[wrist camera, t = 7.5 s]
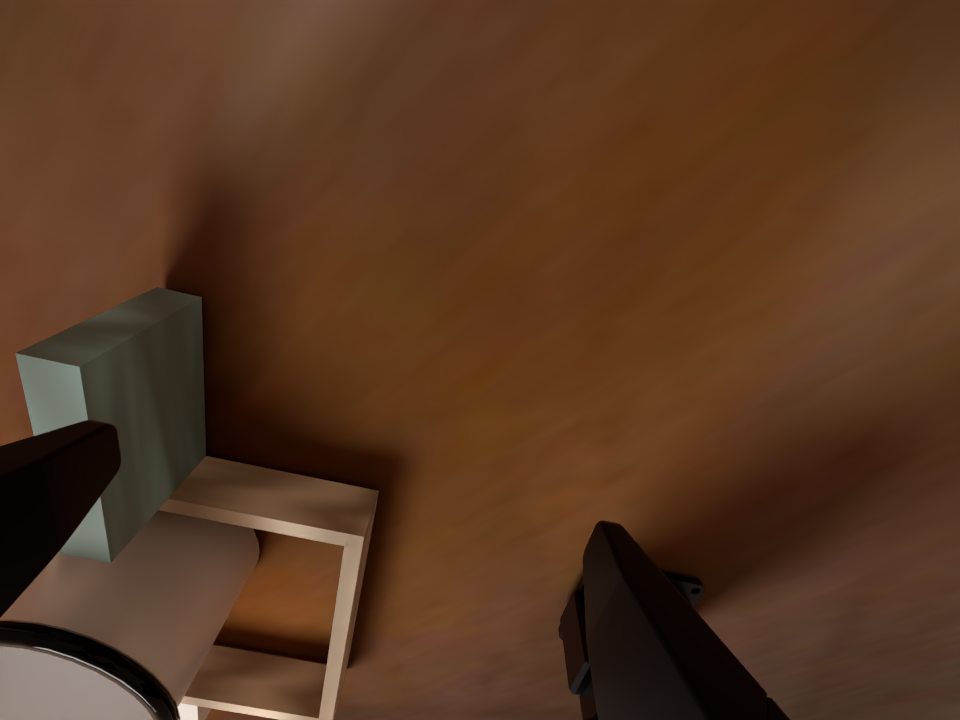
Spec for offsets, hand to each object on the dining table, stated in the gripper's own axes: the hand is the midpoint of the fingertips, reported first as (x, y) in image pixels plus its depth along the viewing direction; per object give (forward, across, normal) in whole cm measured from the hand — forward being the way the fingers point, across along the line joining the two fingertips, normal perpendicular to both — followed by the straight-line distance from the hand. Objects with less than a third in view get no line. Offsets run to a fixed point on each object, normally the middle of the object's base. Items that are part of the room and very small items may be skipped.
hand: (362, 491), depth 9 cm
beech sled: (+12, +9, +15) cm, 20 cm away
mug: (+12, +12, +18) cm, 25 cm away
